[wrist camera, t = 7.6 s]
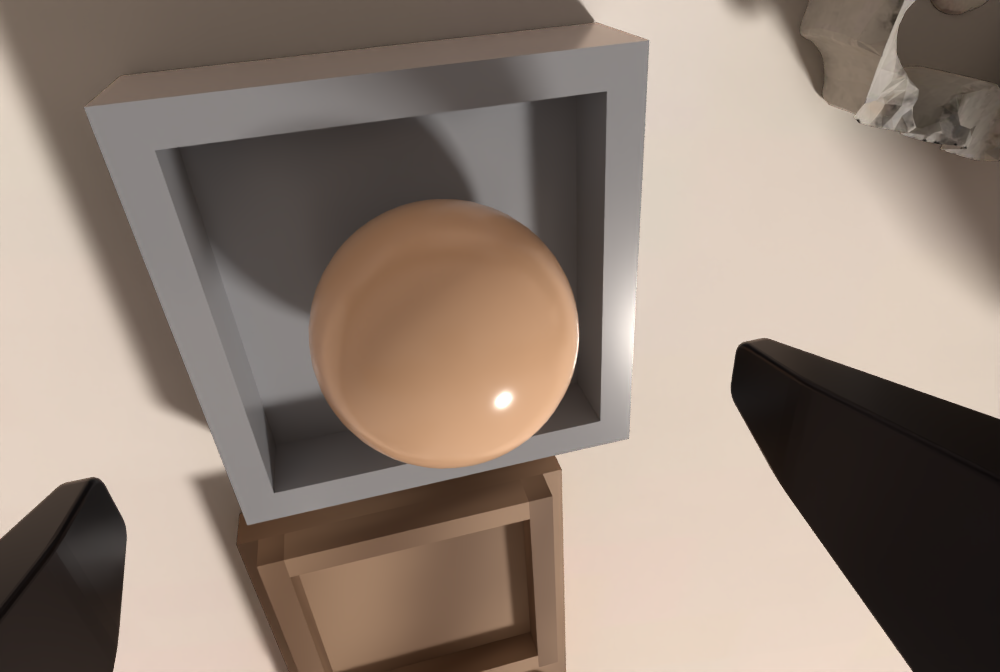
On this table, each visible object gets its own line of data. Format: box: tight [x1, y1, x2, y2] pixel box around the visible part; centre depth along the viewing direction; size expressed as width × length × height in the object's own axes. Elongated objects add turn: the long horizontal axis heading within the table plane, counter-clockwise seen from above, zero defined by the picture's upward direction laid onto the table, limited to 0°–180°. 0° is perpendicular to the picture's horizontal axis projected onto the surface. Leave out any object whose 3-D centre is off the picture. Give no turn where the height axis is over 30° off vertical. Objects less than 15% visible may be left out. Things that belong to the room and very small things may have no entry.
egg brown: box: [308, 199, 579, 469], centre depth 12 cm, size 5×5×5 cm
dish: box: [84, 22, 649, 525], centre depth 13 cm, size 8×8×2 cm
